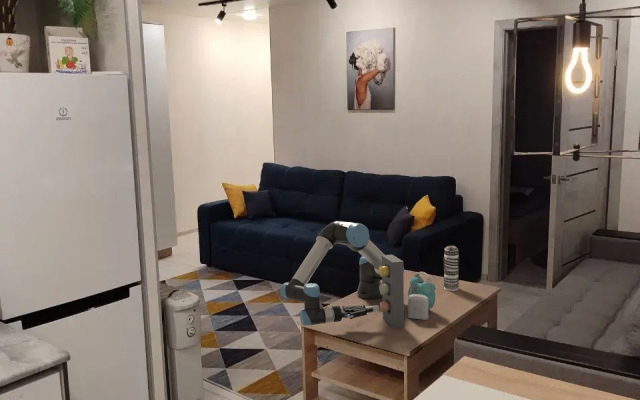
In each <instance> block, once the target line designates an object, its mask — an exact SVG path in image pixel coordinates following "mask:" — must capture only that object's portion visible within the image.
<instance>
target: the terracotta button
mask: <svg viewBox="0 0 640 400" xmlns="http://www.w3.org/2000/svg"><path fill="white" fill-rule="evenodd" d="M379 311H380V312H381V313H383V312H387V311H390V302H389V301H384V302H383V301H380V303H379Z"/></svg>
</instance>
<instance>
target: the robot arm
mask: <svg viewBox="0 0 640 400" xmlns="http://www.w3.org/2000/svg"><path fill="white" fill-rule="evenodd" d="M369 232H370V231H369V229H368V227H367V226H366V225H364V224H363V223H361V222H360V223H359V222H350V221H344V220H335V221H332V222H330V223H329V224H327V225H326V226H325V227H324V228H322V229H321V230H320V232H318V235H317V236H316V238H315V243H314V244H313V246H312V247H311V249H310V250H309V252H308V253H307V255H306V257H305V258H304V260H303V261H302V263H301V264H300V266H299V267H298V268H297V271H296V272H295V273H294V275H293V276H292V277H291V280H290V281H288V282H284V283H283V284H282V285H281V287H280V295H281V297H283V298H285V299H288V300H291V301H295V302H296V301H297V302H300V303H303V306H304V309H302V310H300V311H299V321H300V323H301V325H302V326H307V327H308V326H314V325H320V324H321V325H323V324H330V323H333V322H334V323H336V322H337V323H338V322H342V320H343V318H344V319H345V318H346V319H347V318H349V320H353V319H355V318H359V317H364V316H367V315H368V314H371V313H377V312H380V305H379V304H376V305H371V306H370V305H368V306H366V305H365V304H362V305H342V307H341V306H340V305H333V306H327V305H326V306H325V307H321V292H320V286H319V285H318V283H312V282H311V283H309V281H310V279H311V278H312V276H313V275H314V273H315V271H316V270H317V268H318V267H319V266H320V264H321V263H322V261H323V259H324V257H325V256H326V255H327V253H328V252H329V250H331V249H333V247H334V246H335V245H336V244H338V245H345V246H347V247H348V248H349V249H350V250H351V251H353V252H358V253H359V254H360V255H361V256H360V258H359V264H358V265H359V267H358V268H359V284H358V287H357V290H356V292H357V293H356V294H357V296H358V297H359V298H361V299H365V300H366V299H367V300H373V299H379V298H383V295H382V294H381V293H380V289H379V286H380V284H382V277H381V276H380V274H379V267H381V266H382V256H383V255H385V253H384V252H382V251H381V250H380V249H379V248H378V247H377V245H375V243H374V242H373V241H371V239H370V233H369ZM404 272H405V268H404V265H403V274H404Z"/></svg>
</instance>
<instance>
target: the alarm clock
mask: <svg viewBox="0 0 640 400" xmlns="http://www.w3.org/2000/svg"><path fill="white" fill-rule="evenodd" d="M420 275H423V276H425V278H426V280H424V279H423V278H422V277H421V276H420ZM409 283H410V284H409V285H410V286H409V288H408V292H407V294H408V295H407V296H408V297H407V299H408V298H409V295H413V294H419V295H424V296H426V297H428V310H431V309H432V308H433V307H434V306H435V302H436V292H435V291H436V285H435V283H434V282H433V281H432V279H431V277H430V275H429V274H428V273H426V272H424V271H419V272H417V273H416V274H415V275H414V276H413V277H411V279H410V281H409Z"/></svg>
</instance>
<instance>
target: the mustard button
mask: <svg viewBox="0 0 640 400" xmlns="http://www.w3.org/2000/svg"><path fill="white" fill-rule="evenodd" d="M379 274H380V276H381V277H384V276H390V267H389V266H381V267H379Z"/></svg>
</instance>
